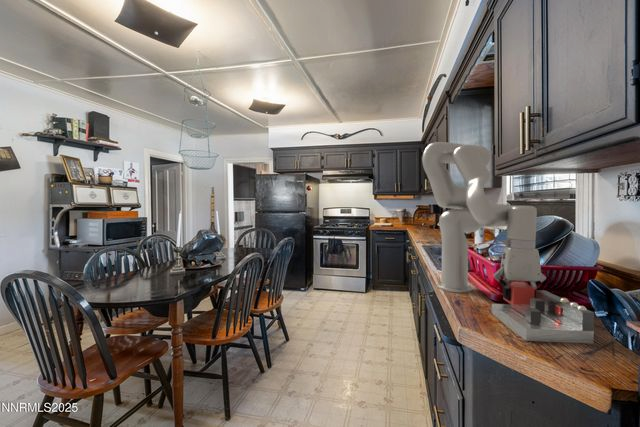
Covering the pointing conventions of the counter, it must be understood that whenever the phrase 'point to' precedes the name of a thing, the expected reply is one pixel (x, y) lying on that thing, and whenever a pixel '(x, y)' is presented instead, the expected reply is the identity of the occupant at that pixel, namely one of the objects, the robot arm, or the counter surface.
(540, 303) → the block
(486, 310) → the counter surface
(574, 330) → the grey slider control panel
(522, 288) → the matte red cuboid
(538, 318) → the block
